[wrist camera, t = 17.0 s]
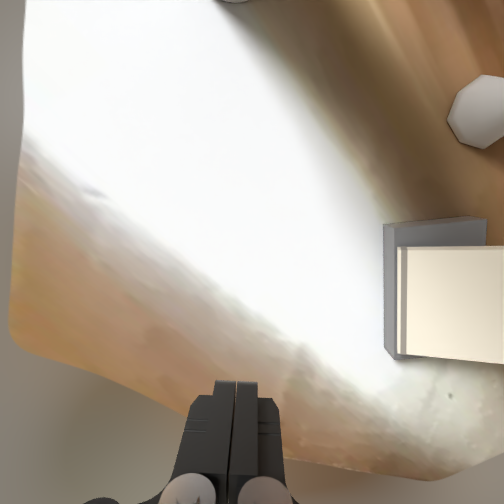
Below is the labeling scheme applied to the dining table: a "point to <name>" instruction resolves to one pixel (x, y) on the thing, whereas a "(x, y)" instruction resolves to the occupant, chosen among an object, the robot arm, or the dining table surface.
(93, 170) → the dining table surface
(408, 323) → the panel
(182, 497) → the robot arm
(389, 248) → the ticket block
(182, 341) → the dining table surface
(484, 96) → the flask
